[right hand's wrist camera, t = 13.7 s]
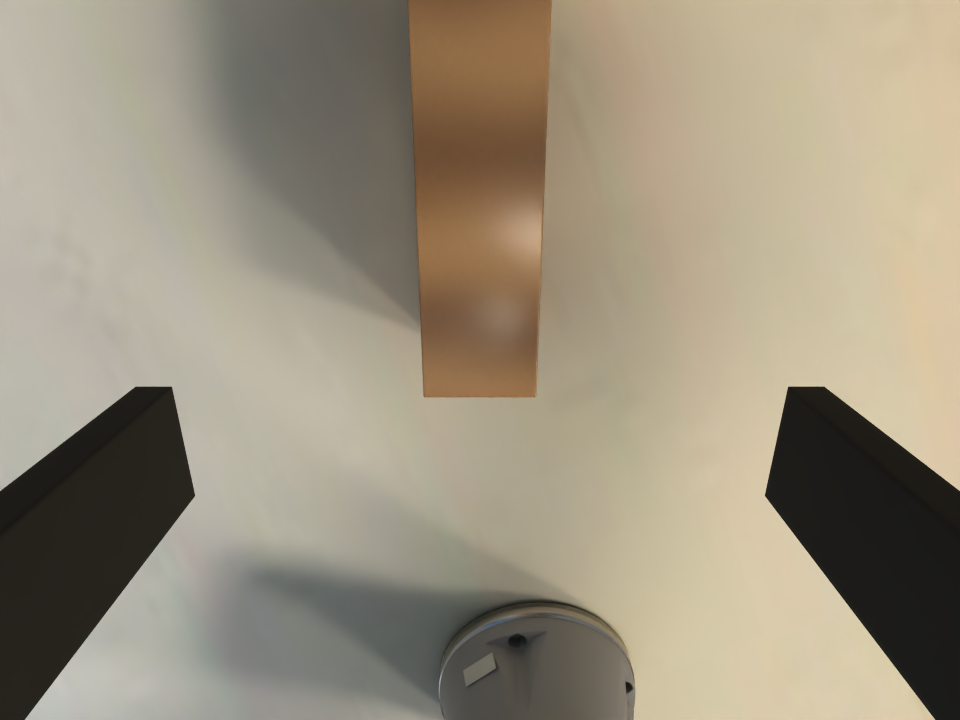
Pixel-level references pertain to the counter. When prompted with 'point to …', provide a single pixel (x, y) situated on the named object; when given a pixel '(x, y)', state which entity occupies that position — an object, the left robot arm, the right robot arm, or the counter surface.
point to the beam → (479, 190)
